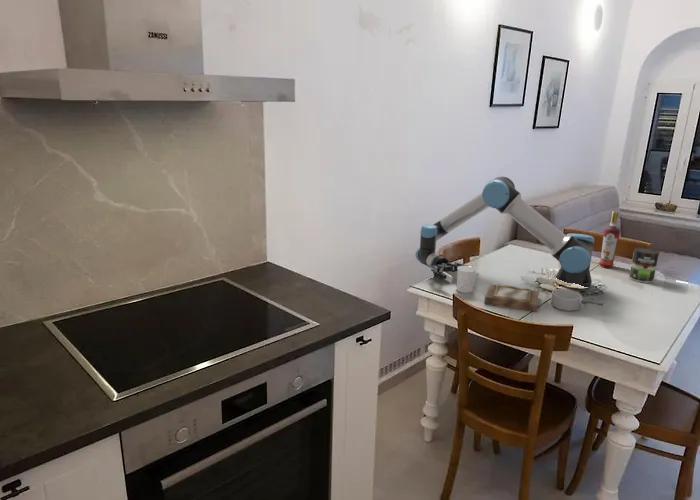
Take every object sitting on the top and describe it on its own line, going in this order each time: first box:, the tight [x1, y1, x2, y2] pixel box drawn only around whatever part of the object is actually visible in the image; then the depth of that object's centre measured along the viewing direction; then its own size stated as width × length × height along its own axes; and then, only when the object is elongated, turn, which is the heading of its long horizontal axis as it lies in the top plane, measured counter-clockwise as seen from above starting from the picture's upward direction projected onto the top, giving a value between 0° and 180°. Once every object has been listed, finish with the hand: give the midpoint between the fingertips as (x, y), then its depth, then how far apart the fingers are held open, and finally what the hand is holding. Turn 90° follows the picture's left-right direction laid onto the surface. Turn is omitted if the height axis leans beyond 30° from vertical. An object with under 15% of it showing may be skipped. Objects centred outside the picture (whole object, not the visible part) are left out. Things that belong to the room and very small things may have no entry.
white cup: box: [456, 265, 477, 294], centre depth 221 cm, size 8×8×10 cm
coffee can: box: [628, 247, 660, 284], centre depth 238 cm, size 10×10×14 cm
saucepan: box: [550, 288, 605, 312], centre depth 204 cm, size 12×20×6 cm, turn 45°
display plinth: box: [484, 283, 540, 313], centre depth 212 cm, size 20×16×4 cm
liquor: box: [598, 210, 621, 269], centre depth 254 cm, size 7×7×28 cm
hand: (464, 277), depth 221 cm, fingers open, 13 cm apart
